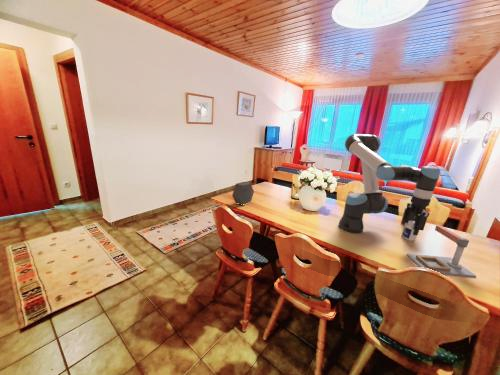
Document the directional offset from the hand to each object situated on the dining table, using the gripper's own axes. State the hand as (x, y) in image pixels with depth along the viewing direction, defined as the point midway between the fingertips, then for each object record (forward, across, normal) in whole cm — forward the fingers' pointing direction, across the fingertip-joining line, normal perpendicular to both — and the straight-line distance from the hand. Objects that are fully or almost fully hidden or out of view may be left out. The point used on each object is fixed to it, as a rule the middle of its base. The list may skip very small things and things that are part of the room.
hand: (408, 236), depth 112 cm
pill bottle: (+1, 0, 0) cm, 1 cm away
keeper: (-4, -5, -16) cm, 17 cm away
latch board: (+8, -12, -9) cm, 17 cm away
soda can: (+10, +36, -23) cm, 44 cm away
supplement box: (+9, +18, -12) cm, 24 cm away
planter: (+12, +53, +98) cm, 112 cm away
